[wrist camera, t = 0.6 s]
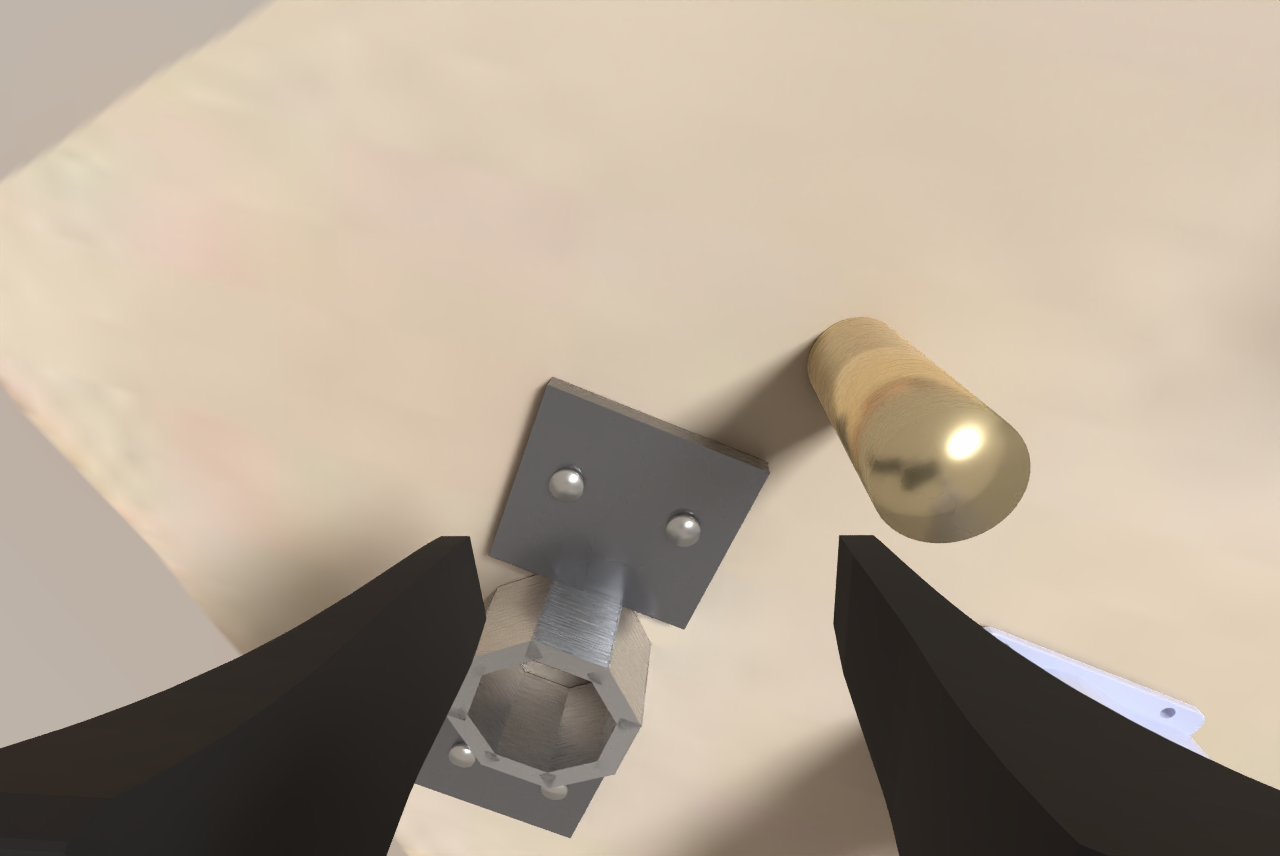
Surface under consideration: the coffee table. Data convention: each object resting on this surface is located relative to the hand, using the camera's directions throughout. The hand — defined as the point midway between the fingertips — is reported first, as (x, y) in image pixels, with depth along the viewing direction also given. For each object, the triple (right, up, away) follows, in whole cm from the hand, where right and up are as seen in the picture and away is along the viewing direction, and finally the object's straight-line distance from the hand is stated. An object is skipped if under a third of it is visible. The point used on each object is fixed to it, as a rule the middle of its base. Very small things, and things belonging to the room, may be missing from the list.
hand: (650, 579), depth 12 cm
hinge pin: (+7, +5, +8) cm, 11 cm away
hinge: (-3, -6, +13) cm, 15 cm away
